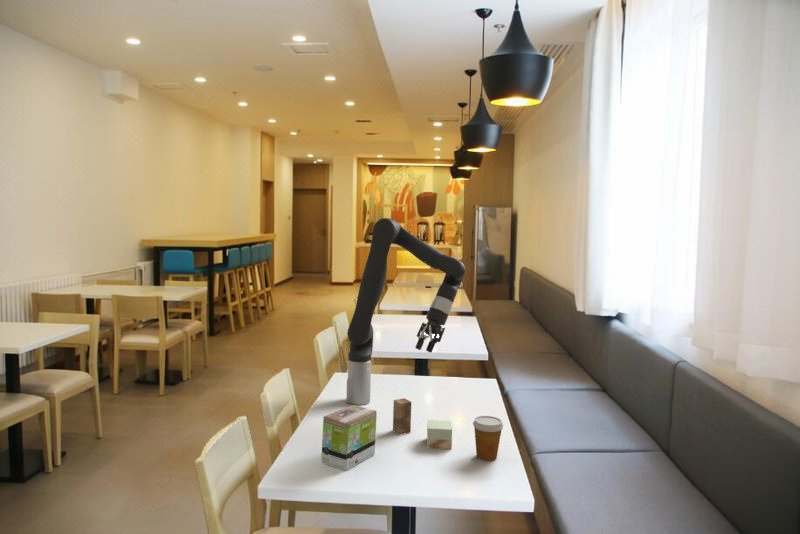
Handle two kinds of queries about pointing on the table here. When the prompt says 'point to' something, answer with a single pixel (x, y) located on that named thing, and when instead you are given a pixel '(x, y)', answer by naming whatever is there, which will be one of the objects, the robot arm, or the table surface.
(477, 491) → the table surface
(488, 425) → the disposable coffee cup
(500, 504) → the table surface
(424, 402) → the table surface
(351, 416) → the tea box
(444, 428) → the sage slab
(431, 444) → the oak slab
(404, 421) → the walnut pillar
